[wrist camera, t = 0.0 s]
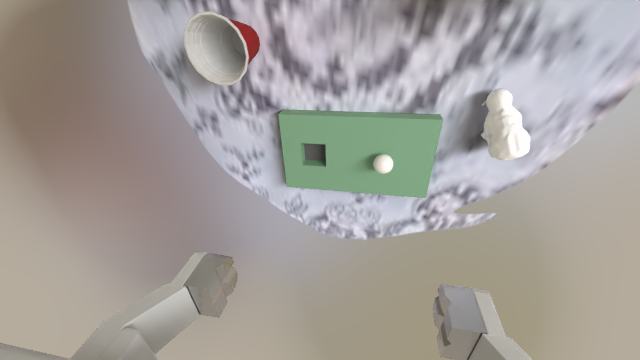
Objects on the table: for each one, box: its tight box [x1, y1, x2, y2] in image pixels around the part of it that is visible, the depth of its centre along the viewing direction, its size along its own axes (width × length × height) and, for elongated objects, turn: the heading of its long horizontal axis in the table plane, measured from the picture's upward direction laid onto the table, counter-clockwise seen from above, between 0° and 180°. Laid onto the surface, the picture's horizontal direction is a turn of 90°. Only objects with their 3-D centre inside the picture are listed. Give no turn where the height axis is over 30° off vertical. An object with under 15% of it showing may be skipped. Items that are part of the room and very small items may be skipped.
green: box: [278, 110, 443, 198], centre depth 59 cm, size 18×32×3 cm, turn 91°
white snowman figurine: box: [481, 89, 530, 160], centre depth 48 cm, size 6×8×12 cm
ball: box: [373, 154, 393, 174], centre depth 55 cm, size 4×4×4 cm
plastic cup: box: [184, 12, 260, 85], centre depth 48 cm, size 11×11×12 cm
